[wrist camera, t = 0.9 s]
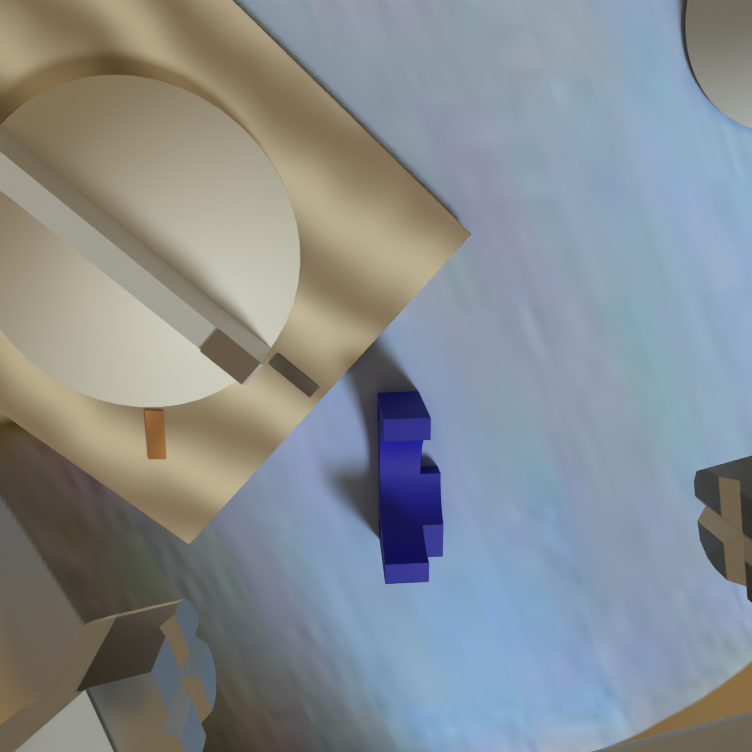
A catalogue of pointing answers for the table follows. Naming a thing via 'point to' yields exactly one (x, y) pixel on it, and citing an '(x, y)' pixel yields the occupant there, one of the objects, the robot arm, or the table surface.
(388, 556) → the blue notched block
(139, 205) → the dial
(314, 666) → the table surface
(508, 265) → the table surface
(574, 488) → the table surface
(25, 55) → the dial board
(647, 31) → the table surface
